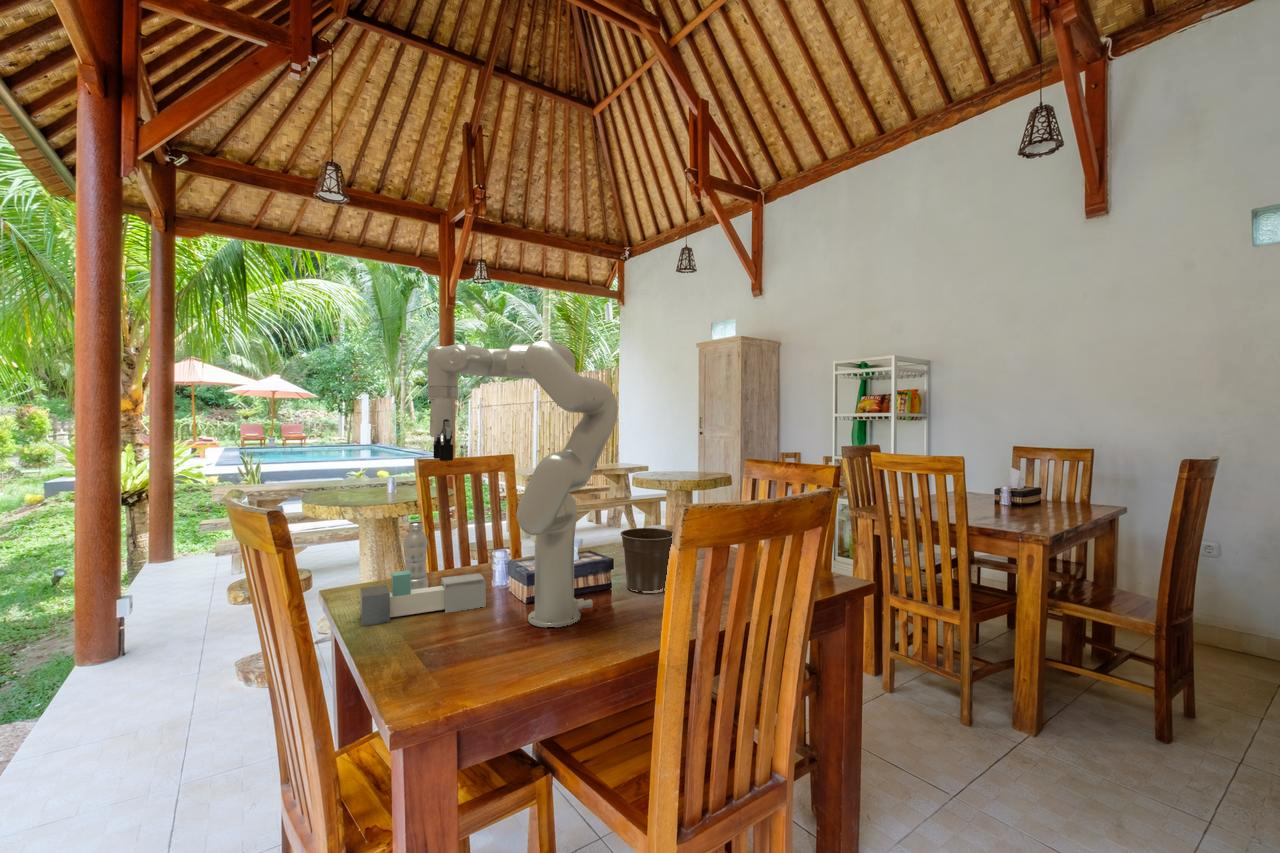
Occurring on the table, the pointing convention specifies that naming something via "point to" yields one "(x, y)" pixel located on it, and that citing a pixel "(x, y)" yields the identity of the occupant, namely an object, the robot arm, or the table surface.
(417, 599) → the long white box
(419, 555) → the plastic bottle
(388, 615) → the socket block
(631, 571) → the plant pot
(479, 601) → the gray rectangular block
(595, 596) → the table surface
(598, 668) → the table surface
